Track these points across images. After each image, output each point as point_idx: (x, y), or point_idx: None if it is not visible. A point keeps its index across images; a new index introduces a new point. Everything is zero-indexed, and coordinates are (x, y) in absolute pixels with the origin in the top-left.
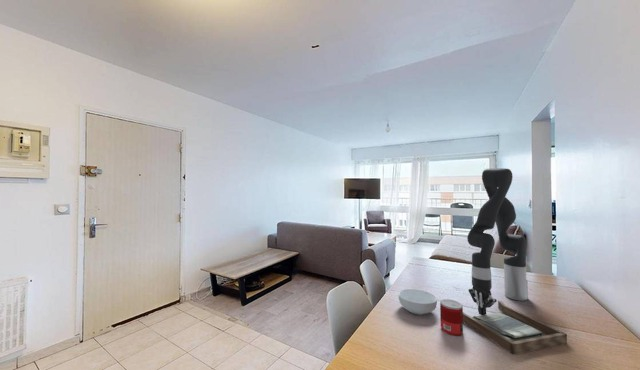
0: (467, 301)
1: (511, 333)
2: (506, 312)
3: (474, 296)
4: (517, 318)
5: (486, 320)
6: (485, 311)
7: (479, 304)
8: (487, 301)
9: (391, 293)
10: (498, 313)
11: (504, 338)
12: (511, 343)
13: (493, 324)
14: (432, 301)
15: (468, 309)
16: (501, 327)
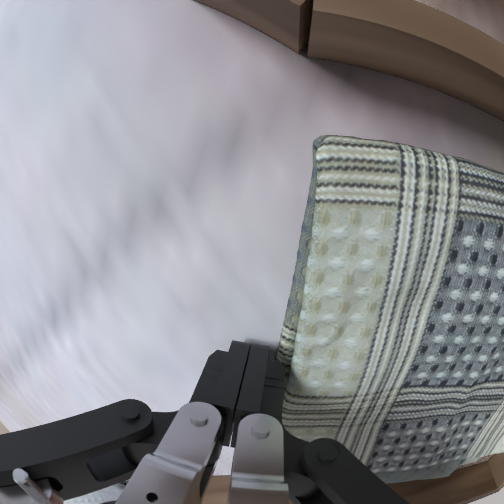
0: (13, 195)
1: (502, 448)
2: (356, 54)
3: (98, 482)
4: (479, 99)
5: (357, 449)
6: (282, 396)
7: (215, 464)
8: (286, 496)
9: (9, 430)
10: (345, 206)
11: (475, 500)
12: (492, 493)
13: (414, 456)
14: (100, 499)
15: (118, 339)
16: (455, 427)
